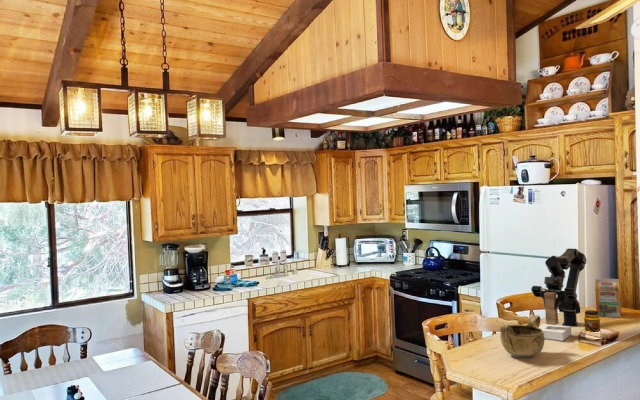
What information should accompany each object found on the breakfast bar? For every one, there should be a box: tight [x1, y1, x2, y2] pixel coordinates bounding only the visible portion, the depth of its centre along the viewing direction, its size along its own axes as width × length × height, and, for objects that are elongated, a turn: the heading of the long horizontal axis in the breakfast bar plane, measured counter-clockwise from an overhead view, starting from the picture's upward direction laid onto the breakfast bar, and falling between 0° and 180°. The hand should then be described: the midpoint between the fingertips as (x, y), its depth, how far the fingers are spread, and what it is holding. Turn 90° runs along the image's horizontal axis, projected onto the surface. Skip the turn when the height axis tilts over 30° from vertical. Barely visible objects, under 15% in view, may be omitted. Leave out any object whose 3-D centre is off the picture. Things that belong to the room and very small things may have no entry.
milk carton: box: [594, 278, 622, 319], centre depth 263 cm, size 10×11×19 cm
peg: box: [544, 292, 559, 325], centre depth 232 cm, size 4×4×14 cm
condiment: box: [583, 309, 601, 332], centre depth 227 cm, size 7×8×12 cm
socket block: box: [539, 323, 572, 343], centre depth 232 cm, size 12×12×4 cm
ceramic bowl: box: [499, 314, 545, 359], centre depth 208 cm, size 22×17×15 cm
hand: (550, 308), depth 231 cm, fingers closed on peg, 4 cm apart
